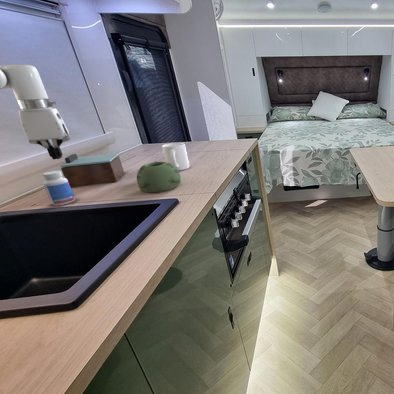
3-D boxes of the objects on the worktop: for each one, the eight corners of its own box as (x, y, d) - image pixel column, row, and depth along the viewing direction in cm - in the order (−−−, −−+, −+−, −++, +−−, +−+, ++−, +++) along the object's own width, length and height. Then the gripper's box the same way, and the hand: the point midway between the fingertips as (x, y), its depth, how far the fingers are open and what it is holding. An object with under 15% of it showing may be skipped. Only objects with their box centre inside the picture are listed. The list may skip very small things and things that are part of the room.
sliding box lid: (60, 167, 100) (57, 160, 99) (74, 158, 111) (71, 152, 110) (110, 162, 106) (107, 155, 105) (118, 154, 116) (116, 148, 115)
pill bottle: (80, 200, 92) (68, 170, 89) (60, 206, 87) (47, 175, 84) (67, 198, 94) (55, 169, 90) (47, 204, 89) (34, 174, 85)
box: (68, 187, 103) (60, 168, 100) (81, 177, 114) (74, 159, 111) (116, 181, 108) (110, 163, 106) (124, 172, 119) (118, 155, 116)
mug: (188, 172, 119) (182, 147, 115) (164, 175, 116) (158, 149, 112) (190, 165, 129) (185, 142, 125) (169, 167, 126) (163, 143, 122)
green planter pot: (184, 189, 100) (178, 165, 97) (139, 197, 94) (131, 171, 90) (179, 177, 113) (174, 155, 109) (140, 183, 106) (133, 160, 103)
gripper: (68, 103, 103) (87, 153, 110) (11, 105, 97) (35, 158, 104) (59, 104, 97) (80, 158, 104) (-2, 107, 91) (24, 163, 98)
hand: (57, 158), depth 104 cm, fingers closed
